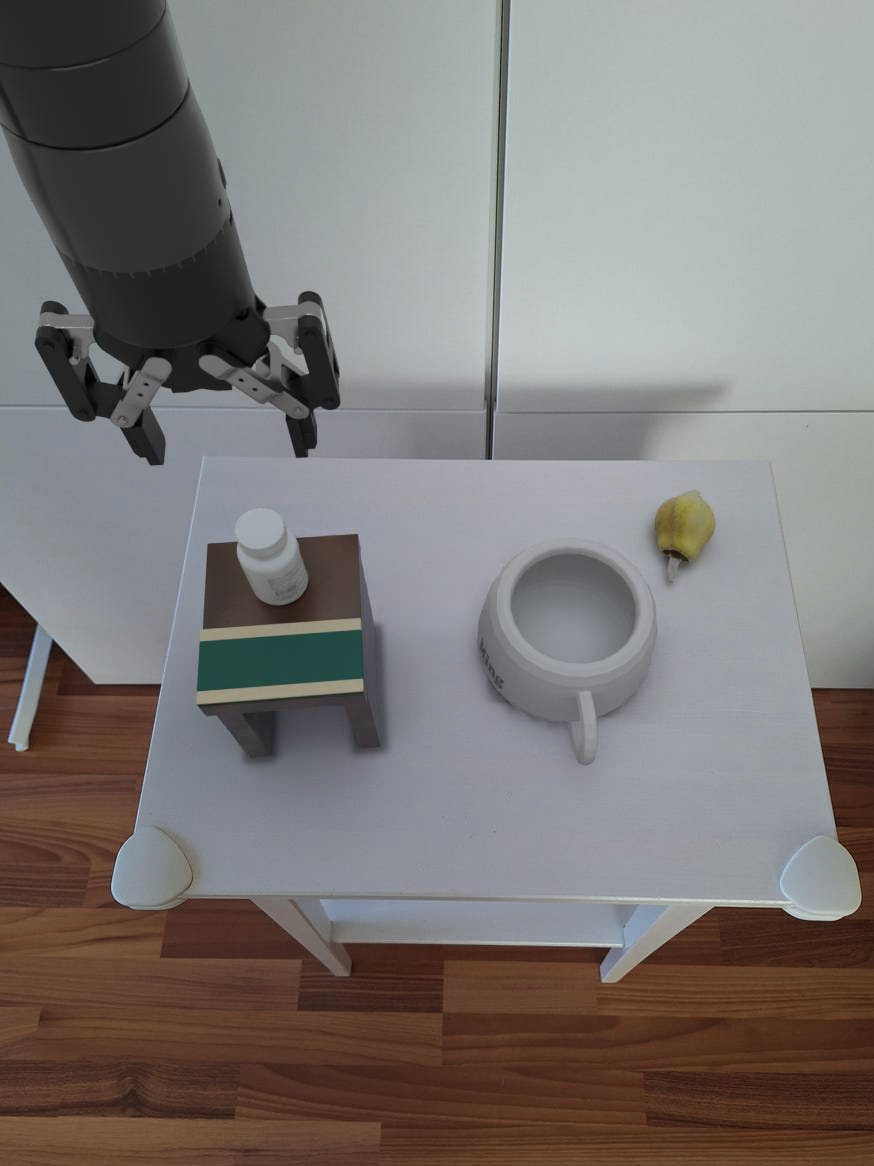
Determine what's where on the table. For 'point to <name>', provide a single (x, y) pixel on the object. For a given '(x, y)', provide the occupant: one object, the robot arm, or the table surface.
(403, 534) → the table surface
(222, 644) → the towel
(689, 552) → the fruit
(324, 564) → the stool
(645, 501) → the table surface
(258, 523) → the pill bottle
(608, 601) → the mug
